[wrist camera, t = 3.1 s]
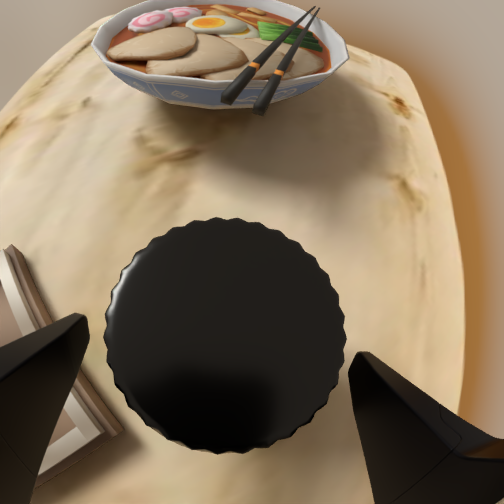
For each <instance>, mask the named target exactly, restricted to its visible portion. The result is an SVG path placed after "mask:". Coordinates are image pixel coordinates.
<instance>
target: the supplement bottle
mask: <svg viewBox="0 0 504 504" xmlns="http://www.w3.org/2000/svg"><path fill="white" fill-rule="evenodd" d="M105 319H106V322H107V327H106V330H105V332H104V336H103V338H104V341H105V344H106V346H107V349H108V351H107V363H108V365H109V367H110V368H111V369H112V371H113V374H114V383H115V386H116V387H117V388H118V389H119V390H120V391H121V392H122V393H123V394H124V396H125V399H126V402H127V405H128V407H129V408H131V409H132V410H134V411H135V412H136V413H137V414H138V415H139V416H140V417H141V419H142V420H143V421H144V423H145V424H146V425H147V426H149V427H151V428H152V429H153V430H155V431H156V432H157V433H159V434H160V435H162V436H164V437H165V438H166V439H167V440H170V441H172V442H175V443H177V444H179V445H181V446H184V447H187V448H190V449H191V450H198V451H202V452H210V453H214V454H217V455H218V454H223V453H241V454H244V453H246V452H249V451H250V450H252V449H254V448H269V447H270V446H271V445H273V444H274V443H275V442H276V441H277V440H281V439H286V438H289V437H291V436H292V435H293V434H294V433H295V432H296V430H297V429H298V428H299V427H301V426H304V425H306V424H308V423H310V422H311V420H312V419H313V417H314V414H315V413H316V411H318V410H319V409H321V408H322V407H324V406H325V405H326V404H327V401H328V397H329V393H330V392H331V390H333V389H334V388H335V387H336V385H337V384H338V378H339V370H340V368H341V367H342V365H343V363H344V352H343V348H344V346H345V343H346V340H347V338H346V334H345V331H344V328H343V324H344V319H345V316H344V314H343V312H342V310H341V308H340V306H339V295H338V293H337V292H336V291H335V289H334V288H333V287H332V286H331V283H330V278H329V275H328V274H327V273H326V272H325V271H324V270H322V269H321V268H320V267H319V264H318V262H317V260H316V258H315V257H314V256H312V255H311V254H309V253H307V252H305V251H304V249H303V248H302V246H301V245H300V244H299V242H296V241H294V240H291V239H288V238H287V237H286V236H285V235H284V234H283V233H282V232H281V231H279V230H274V229H268V228H267V227H265V226H264V225H263V224H261V223H260V222H246V221H244V220H242V219H240V218H233V219H229V220H225V219H222V218H218V217H215V218H212V219H209V220H207V221H199V220H194V221H192V222H190V223H188V224H187V225H186V226H183V227H173V228H172V229H170V230H169V231H168V232H167V233H166V234H165V235H163V236H159V237H156V238H153V239H152V240H151V242H150V243H149V244H148V246H147V247H146V248H144V249H142V250H140V251H138V252H136V253H135V255H134V257H133V259H132V262H131V263H130V264H129V265H127V266H126V267H125V268H124V269H123V270H122V271H121V274H120V280H119V282H118V283H117V284H116V286H115V287H114V288H113V289H112V291H111V304H110V305H109V307H108V308H107V310H106V313H105Z"/></svg>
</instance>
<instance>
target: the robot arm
mask: <svg viewBox="0 0 504 504" xmlns="http://www.w3.org/2000/svg"><path fill="white" fill-rule="evenodd" d="M89 340H90V334H89V327H88V321H87V317H86V316H85V315H82V314H79V313H73V314H71V315H69V316H67V317H64V318H62V319H60V320H58V321H56V322H53V323H51V324H49V325H47V326H45V327H43V328H40V329H38V330H36V331H34V332H32V333H29V334H27V335H25V336H23V337H21V338H19V339H16V340H14V341H12V342H10V343H8V344H6V345H4V346H1V347H0V504H29V503H30V500H31V496H32V493H33V490H34V486H35V483H36V480H37V479H36V478H37V476H38V473H39V470H40V467H41V464H42V461H43V459H44V456H45V453H46V450H47V447H48V445H49V442H50V440H51V437H52V434H53V432H54V429H55V427H56V424H57V422H58V419H59V417H60V415H61V412H62V410H63V407H64V405H65V403H66V400H67V398H68V396H69V394H70V391H71V389H72V387H73V385H74V383H75V380H76V378H77V375H78V372H79V369H80V366H81V363H82V360H83V358H84V355H85V352H86V349H87V346H88V344H89ZM348 378H349V385H350V392H351V398H352V406H353V411H354V416H355V420H356V424H357V428H358V432H359V436H360V440H361V444H362V448H363V452H364V456H365V461H366V465H367V470H368V474H369V479H370V483H371V488H372V493H373V498H374V502H375V504H504V439H499V438H495V437H492V436H490V435H489V434H486V433H485V432H483V431H482V430H480V429H478V428H477V427H475V426H473V425H472V424H470V423H468V422H467V421H465V420H463V419H462V418H460V417H459V416H457V415H456V414H454V413H453V412H451V411H450V410H448V409H447V408H445V407H444V406H443V405H441V404H439V403H438V402H437V401H436V400H434V399H433V398H432V397H430V396H429V395H427V394H426V393H425V392H423V391H422V390H421V389H419V388H418V387H416V386H415V385H414V384H412V383H411V382H410V381H408V380H407V379H405V378H404V377H403V376H401V375H400V374H399V373H397V372H396V371H394V370H393V369H392V368H390V367H389V366H388V365H386V364H385V363H384V362H382V361H381V360H380V359H378V358H377V357H375V356H374V355H373V354H371V353H370V352H366V351H359V352H357V353H356V355H355V357H354V359H353V361H352V363H351V365H350V368H349V370H348Z"/></svg>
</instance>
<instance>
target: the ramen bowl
mask: <svg viewBox="0 0 504 504" xmlns="http://www.w3.org/2000/svg"><path fill="white" fill-rule="evenodd" d="M315 7H316V6H314V7H313V8H312V9H310V10H309V11H308V12H306V11H304V10H302V9H300V8H298V7H295V6H292V5H289V4H286V3H283V2H280V1H277V0H148V1H145V2H142V3H140V4H137V5H134V6H132V7H129V8H127V9H124V10H122V11H121V12H119V13H118V14H116V15H115V16H113V17H112V18H111V19H109V20H108V21H106V22H105V23H104V24H102V25H101V26H100V27H99V29H98V31H97V33H96V35H95V37H94V39H93V41H92V43H91V46H92V47H93V49H94V50H95V51H96V53H97V54H98V56H99V57H100V59H101V60H102V61H103V63H104V64H105V65H106V66H107V67H108V68H109V69H110V70H111V71H112V73H113V74H114V75H115V76H117V77H118V78H120V79H121V80H122V81H124V82H125V83H126V84H128V85H129V86H131V87H133V88H135V89H137V90H139V91H141V92H144V93H146V94H149V95H151V96H153V97H156V98H158V99H160V100H162V101H165V102H167V103H169V104H177V105H185V106H192V107H199V108H206V109H212V110H213V109H230V108H253V110H252V113H255V114H258V115H261V116H264V114H265V112H266V110H267V108H268V106H269V104H270V103H273V102H277V101H280V100H284V99H287V98H291V97H293V96H296V95H299V94H301V93H304V92H305V91H307V90H309V89H311V88H313V87H315V86H317V85H318V84H319V83H321V82H322V81H323V80H325V79H326V78H327V77H328V76H330V75H331V74H332V73H333V72H335V71H336V70H337V69H338V68H339V67H340V66H341V65H343V64H344V63H345V62H346V61H347V60H348V59H349V55H348V51H347V47H346V43H345V40H344V39H343V38H342V37H341V36H340V35H339V34H338V33H337V32H336V31H335V30H334V29H333V28H332V27H331V26H330V25H329V24H327V23H326V22H325V21H323V20H321V19H319V18H317V17H316V15H317V13H318V11H319V9H320V8H318V10H317V11H316V12H315V14H314V15H312V14H310V12H311V11H312V10H313V9H314V8H315Z"/></svg>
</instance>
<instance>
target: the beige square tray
mask: <svg viewBox="0 0 504 504" xmlns="http://www.w3.org/2000/svg"><path fill="white" fill-rule="evenodd" d="M51 323H53V322H52V320H51V318H50V316H49V314H48V312H47V310H46V308H45V306H44V304H43V302H42V300H41V297H40V295H39V293H38V291H37V289H36V287H35V284H34V282H33V280H32V277H31V275H30V273H29V270H28V268H27V265H26V263H25V260H24V258H23V255H22V253H21V252H20V251H19V250H18V249H17V248H16V247H14V246H13V245H12V244H11V245H10V246H9V247H8V248H7V249H5V250H4V249H2V250H1V251H0V347H1V346H4V345H6V344H8V343H10V342H12V341H14V340H16V339H19V338H21V337H23V336H25V335H27V334H29V333H32V332H34V331H36V330H38V329H40V328H43V327H45V326H47V325H49V324H51ZM123 430H125V429H124V428H123V427H122V426H121V425H120V423H119V422H118V421H117V420H116V418H115V417H114V416H113V414H112V413H111V412H110V411H109V409H108V408H107V407H106V405H105V404H104V403H103V401H102V400H101V399H100V397H99V396H98V394H97V393H96V392H95V390H94V389H93V387H92V386H91V384H90V383H89V382H88V380H87V379H86V377H85V376H84V374H83V373H82V371H81V369H79V372H78V375H77V378H76V380H75V383H74V385H73V387H72V389H71V391H70V394H69V396H68V398H67V400H66V403H65V405H64V407H63V410H62V412H61V415H60V417H59V419H58V422H57V424H56V427H55V429H54V432H53V434H52V437H51V440H50V442H49V445H48V447H47V450H46V453H45V456H44V459H43V461H42V464H41V467H40V470H39V473H38V476H37V478H36V479H37V480H36V483H35V486H34V489H35V488H37V487H38V486H40V485H42V484H43V483H45V482H47V481H48V480H50V479H52V478H53V477H55V476H56V475H58V474H60V473H61V472H63V471H64V470H66V469H67V468H69V467H71V466H72V465H74V464H75V463H77V462H78V461H80V460H81V459H83V458H84V457H86V456H87V455H89V454H90V453H92V452H93V451H95V450H96V449H98V448H99V447H100V446H102V445H103V444H105V443H106V442H108V441H109V440H111V439H112V438H113V437H115V436H116V435H118V434H119V433H120V432H122V431H123Z"/></svg>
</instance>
